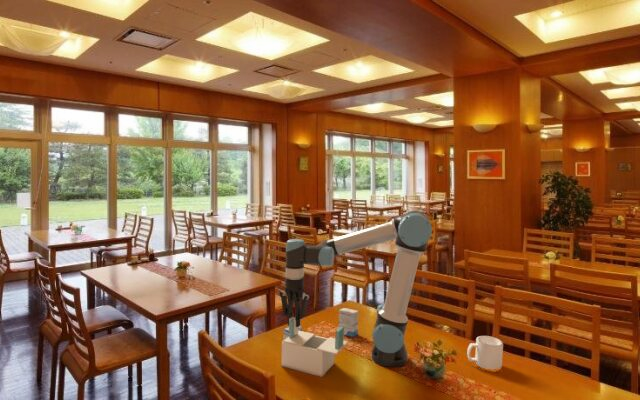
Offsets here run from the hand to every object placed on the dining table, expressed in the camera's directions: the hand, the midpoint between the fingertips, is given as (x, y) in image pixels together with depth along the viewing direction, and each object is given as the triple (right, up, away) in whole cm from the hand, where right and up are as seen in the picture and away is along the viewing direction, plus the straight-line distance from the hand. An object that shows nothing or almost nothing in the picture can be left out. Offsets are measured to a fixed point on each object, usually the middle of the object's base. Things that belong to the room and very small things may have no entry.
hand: (293, 333), depth 163 cm
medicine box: (-1, -11, +15) cm, 18 cm away
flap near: (+16, -3, -7) cm, 18 cm away
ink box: (+25, -10, +30) cm, 40 cm away
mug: (+79, -14, +1) cm, 81 cm away
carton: (+6, -12, -2) cm, 14 cm away
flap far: (+2, -2, -1) cm, 3 cm away
